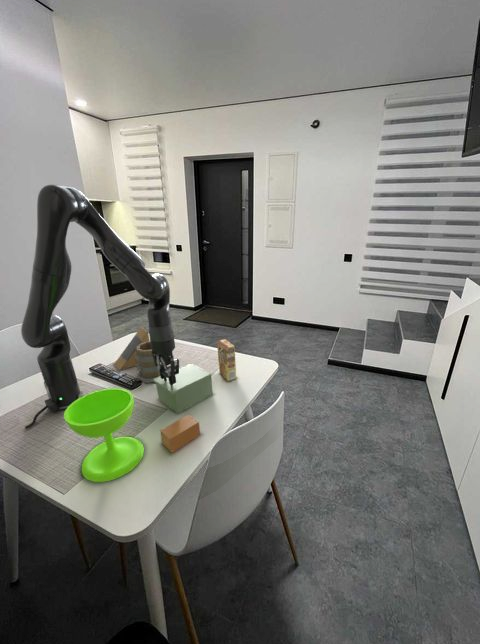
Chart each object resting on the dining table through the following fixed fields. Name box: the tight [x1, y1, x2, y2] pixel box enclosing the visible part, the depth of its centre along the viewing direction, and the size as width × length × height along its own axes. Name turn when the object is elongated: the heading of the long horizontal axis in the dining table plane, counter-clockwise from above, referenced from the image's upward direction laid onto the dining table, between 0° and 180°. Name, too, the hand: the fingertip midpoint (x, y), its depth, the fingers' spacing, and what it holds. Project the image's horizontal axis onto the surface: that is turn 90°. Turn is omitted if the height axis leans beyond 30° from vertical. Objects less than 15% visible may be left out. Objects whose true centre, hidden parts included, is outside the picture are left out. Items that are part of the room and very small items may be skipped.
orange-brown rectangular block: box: [159, 414, 201, 454], centre depth 87 cm, size 10×6×5 cm, turn 138°
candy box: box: [216, 338, 237, 382], centre depth 120 cm, size 9×4×15 cm, turn 33°
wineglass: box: [63, 387, 145, 483], centre depth 78 cm, size 16×16×18 cm
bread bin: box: [155, 375, 214, 414], centre depth 107 cm, size 16×13×8 cm
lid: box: [153, 363, 212, 394], centre depth 104 cm, size 16×13×5 cm
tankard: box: [135, 341, 167, 384], centre depth 124 cm, size 20×13×15 cm, turn 148°
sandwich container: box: [113, 326, 150, 371], centre depth 132 cm, size 9×15×15 cm, turn 132°
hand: (168, 380), depth 100 cm, fingers closed on lid, 5 cm apart
